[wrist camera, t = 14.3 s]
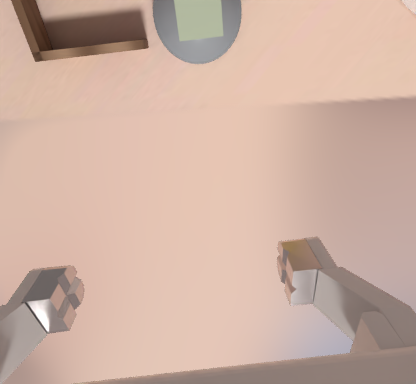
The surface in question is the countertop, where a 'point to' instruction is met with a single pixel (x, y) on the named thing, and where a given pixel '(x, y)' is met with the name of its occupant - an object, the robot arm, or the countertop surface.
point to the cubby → (42, 46)
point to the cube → (198, 19)
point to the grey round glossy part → (198, 48)
